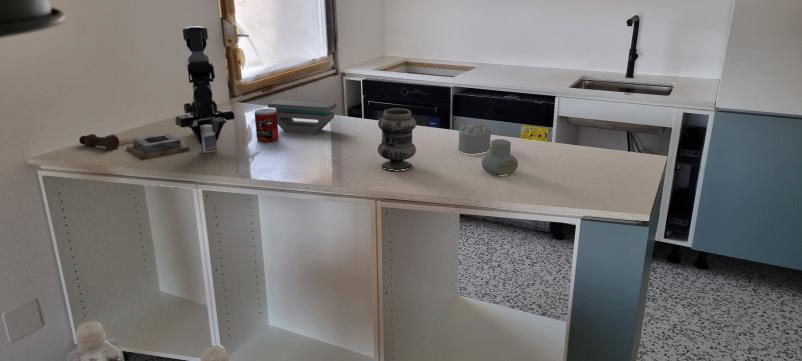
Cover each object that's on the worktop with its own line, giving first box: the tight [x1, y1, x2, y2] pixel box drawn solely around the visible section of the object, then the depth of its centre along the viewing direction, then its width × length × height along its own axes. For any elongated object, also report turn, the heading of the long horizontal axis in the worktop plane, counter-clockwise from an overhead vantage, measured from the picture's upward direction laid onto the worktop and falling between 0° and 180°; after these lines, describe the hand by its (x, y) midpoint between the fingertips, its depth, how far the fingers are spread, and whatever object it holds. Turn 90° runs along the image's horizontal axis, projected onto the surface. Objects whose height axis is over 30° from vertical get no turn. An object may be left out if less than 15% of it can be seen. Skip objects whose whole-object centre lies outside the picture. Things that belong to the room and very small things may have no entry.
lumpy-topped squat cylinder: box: [458, 122, 492, 154], centre depth 205 cm, size 10×13×9 cm
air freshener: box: [481, 138, 519, 176], centre depth 182 cm, size 11×8×10 cm
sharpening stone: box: [267, 99, 337, 136], centre depth 230 cm, size 25×8×11 cm, turn 73°
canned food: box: [254, 108, 279, 144], centre depth 217 cm, size 8×8×11 cm
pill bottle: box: [199, 125, 218, 154], centre depth 205 cm, size 5×5×9 cm
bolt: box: [78, 133, 120, 151], centre depth 211 cm, size 6×5×15 cm
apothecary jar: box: [377, 107, 417, 170], centre depth 186 cm, size 12×12×18 cm
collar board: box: [126, 132, 190, 160], centre depth 208 cm, size 16×16×4 cm
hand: (208, 142), depth 206 cm, fingers closed on pill bottle, 5 cm apart
